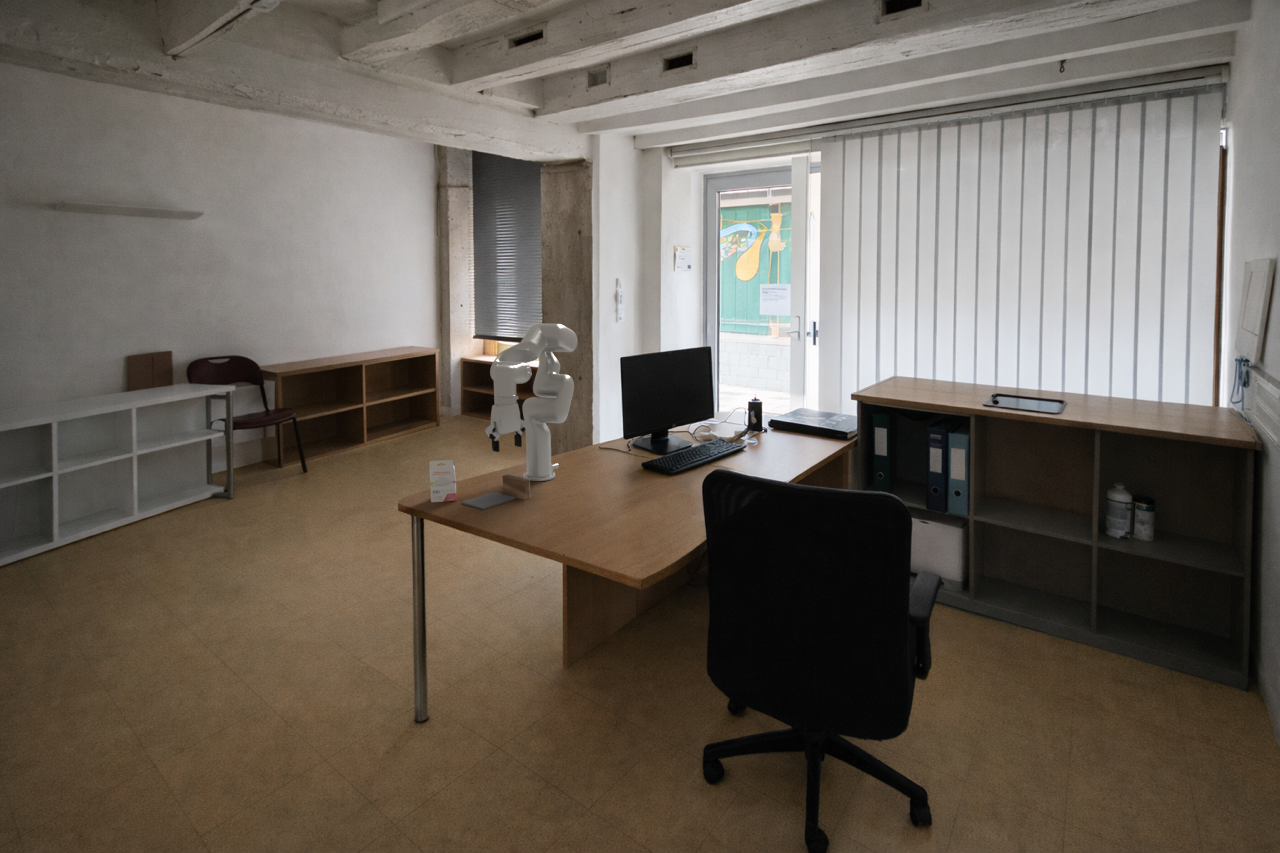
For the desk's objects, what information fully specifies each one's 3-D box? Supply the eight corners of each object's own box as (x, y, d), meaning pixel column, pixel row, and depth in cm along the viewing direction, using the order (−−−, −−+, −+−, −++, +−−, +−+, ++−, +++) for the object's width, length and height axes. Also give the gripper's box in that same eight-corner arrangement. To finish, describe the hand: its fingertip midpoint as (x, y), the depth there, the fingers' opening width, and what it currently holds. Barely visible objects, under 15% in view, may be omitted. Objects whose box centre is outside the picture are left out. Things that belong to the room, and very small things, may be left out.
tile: (508, 492, 255) (507, 474, 254) (530, 498, 249) (529, 479, 248) (503, 494, 253) (502, 475, 252) (525, 500, 247) (524, 480, 246)
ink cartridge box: (456, 497, 250) (455, 456, 247) (456, 501, 245) (454, 460, 242) (431, 498, 248) (429, 457, 245) (430, 502, 243) (428, 461, 240)
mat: (493, 493, 254) (493, 491, 254) (515, 498, 248) (515, 497, 248) (461, 503, 242) (461, 502, 242) (483, 509, 236) (483, 508, 236)
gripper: (518, 396, 251) (519, 442, 255) (478, 402, 239) (480, 451, 242) (532, 398, 247) (533, 446, 250) (491, 405, 234) (493, 455, 238)
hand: (507, 448), depth 246 cm, fingers open, 9 cm apart
